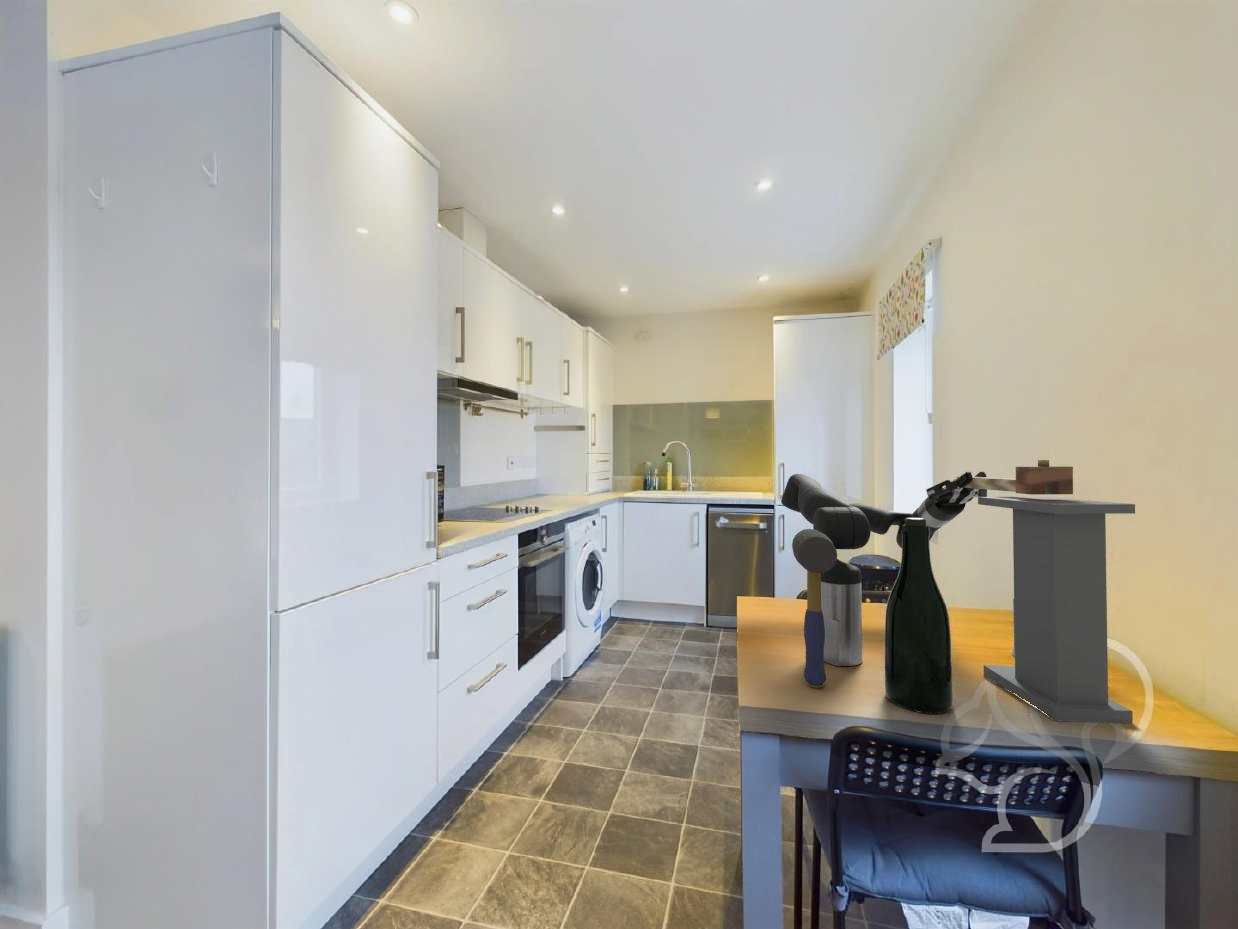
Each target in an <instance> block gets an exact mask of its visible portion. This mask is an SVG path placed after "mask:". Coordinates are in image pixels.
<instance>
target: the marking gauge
mask: <svg viewBox="0 0 1238 929" xmlns="http://www.w3.org/2000/svg"><path fill="white" fill-rule="evenodd" d="M959 477H960V476H956V479H958V478H959ZM972 478H973V480H972V481H971V482H970V483H969V484H968V485H967V486H965V487H964V488H976V489H987V491H988V490H989V491H990V490H991V491H1001V492H1013V493H1015V494H1021V495H1034V496H1035V495H1037V496H1038V495H1041V496H1042V495H1073V494H1074V466H1072V465H1069V466H1065V465H1064V466H1063V465H1062V466H1061V465H1059V466H1050V460H1049V459H1037V466H1015V478H1003V477H975V476H972Z"/></svg>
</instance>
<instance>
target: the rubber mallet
mask: <svg viewBox="0 0 1238 929" xmlns="http://www.w3.org/2000/svg"><path fill="white" fill-rule="evenodd" d="M791 547H792V554H793V557H794V558H795V559H796V561H797V562H798V564H799V566H801V567H803V568H804V569H805V570H806V577H807V578H806V581H807V582H806V584H807V585H806V587H807V588H806V590H807V591H806V597H807V598H806V599H807V600H806V604H807V605H806V606H807V607H806V610H805V612H804V622H803V637H804V645H805V667H804V672H803V678H804V680H805V682H806V683H807V686H809V687H812V688H814V689H815V688H817V689H818V688H819V689H820V688H823V687H824V684H825V683H826V682H827V674H826V671H825V661H824V642H825V626H824V618H823V613H822V609H821V573H824V572H827V571H829V570H830V569H831V568H832V567H834V565H835V563H836V561H837V559H838V552H837V549H836V548H835V546H834V545H833V543H832V541H831V540H830V539H829V538H828V537H827V536H826V535H825V534H823V533H821V532H819V531H817V530H814V529H813V528H807V529H805V528H804V529H802V530H800V531H798V532H797V533H796V534H795V535H794V537H793V539H792V544H791Z"/></svg>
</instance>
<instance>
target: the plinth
mask: <svg viewBox="0 0 1238 929" xmlns="http://www.w3.org/2000/svg"><path fill="white" fill-rule="evenodd" d="M977 504H978V505H981V506H989V507H996V508H1004V509H1012V540H1013V541H1012V542H1013V543H1012V546H1013V549H1012V550H1013V552H1012V553H1013V599H1014V623H1013V629H1014V628H1015V657H1014V665H991V664H989V665H987V664H985V665H984V664H983V676H985V677H986V678H987V679H989V680H990V681H992V682H993V681H994V683H995V684H997V685H998V686H999V687H1001V688H1003V687H1004V688H1005V690H1006V689H1007V690H1009V691H1011V692H1012V693H1015V694H1017V695H1018V696H1019V697H1021V698H1022V699H1025V700H1026V701H1028V702H1030V704H1032V705H1034V706H1036V707H1037V708H1038V709H1040V710H1041V711H1043V712H1044V713H1046V714H1047V715H1048V716H1049V717H1050V718H1052V719H1053V720H1061V721H1060V722H1078V721H1083V723H1084V722H1085V723H1086V722H1088V723H1112V724H1113V723H1114V724H1117V723H1118V724H1133V720H1134V718H1133V715H1134V713H1133V710H1131V709H1130V708H1128V707H1126V706H1123V705H1122V704H1120V703H1118V702H1117V701H1114V700H1112V699H1111V698H1109V676H1108V675H1109V673H1108V672H1109V670H1108V669H1109V668H1108V667H1109V666H1108V660H1109V659H1108V657H1109V656H1108V600H1107V599H1108V597H1107V551H1106V550H1107V544H1106V543H1107V542H1106V540H1107V538H1106V537H1107V536H1106V534H1107V533H1106V532H1107V531H1106V530H1107V529H1106V527H1107V526H1106V514H1108V515H1111V514H1112V515H1114V514H1119V515H1120V514H1122V515H1123V514H1125V515H1127V514H1129V515H1130V514H1136V504H1135V503H1123V502H1113V501H1101V500H1089V499H1088V500H1087V499H1073V498H1063V497H1049V496H987V497H977ZM1004 688H1003V689H1004ZM1007 690H1006V691H1007ZM1009 691H1008V692H1009ZM1012 693H1011V694H1012ZM1049 717H1048V718H1049ZM1050 718H1049V719H1050ZM1052 719H1051V720H1052ZM1053 720H1052V721H1053Z"/></svg>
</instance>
